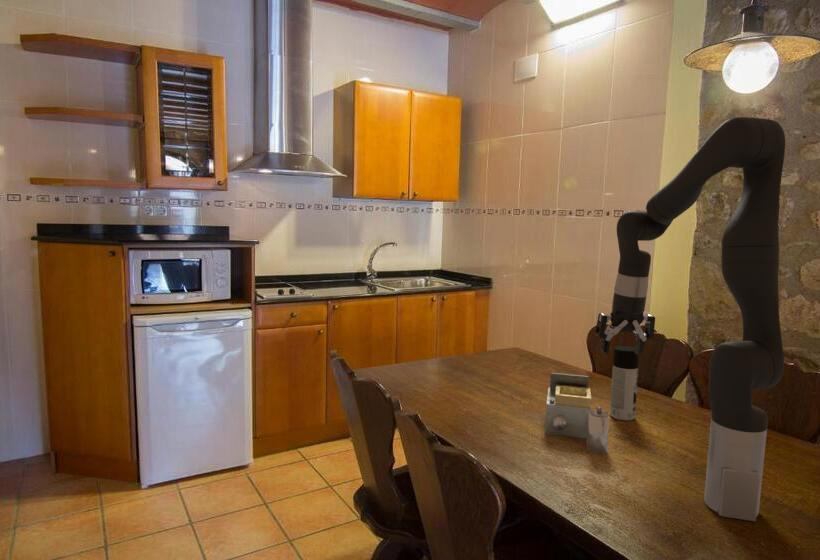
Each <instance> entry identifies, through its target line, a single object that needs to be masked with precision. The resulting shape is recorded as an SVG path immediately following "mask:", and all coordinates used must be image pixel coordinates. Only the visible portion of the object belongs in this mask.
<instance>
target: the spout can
mask: <svg viewBox="0 0 820 560" xmlns="http://www.w3.org/2000/svg"><path fill="white" fill-rule="evenodd" d="M610 416H611V415H610V413H608V412H607V411H604V410H603V407H601V406H597V407H596V409H591V411H590V412H589V415H588V432H587V439H586V451H588V452H589V453H592V454H596V455H606V454H607V453H608V446H609V431H610V418H611V417H610Z"/></svg>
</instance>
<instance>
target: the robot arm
mask: <svg viewBox="0 0 820 560" xmlns="http://www.w3.org/2000/svg"><path fill="white" fill-rule="evenodd" d="M785 152H786V135H785V131H784V128H783V127H782V126H781V124H780V123H779V122H778V121H776V120H773V119H768V118H759V117H758V118H757V117H748V116H736V117H735V116H734V117H731V118H729V119H727V120H725V121H723V122H722V123H721V124H720V125H719V126H718V127H717V128H716V129H715V130H714V131H713V132H712V133H711V134H710V135H709V137H707V139H706V140H705V141H704V142H703V144H702V145H701V146H700V148H699V149H698V150H697V151H696V152H695V153H694V155H693V156H692V157H691V158H689V161H687V163H686V164H685V165H684V166H683V168H682V169H681V170H680V171H679V172H678V173H677V174H676V175H675V177H673V178H672V179H671V180H670V181H669V182H668V183H666V184H665V185H664V186H662V188H661V189H660V190H658V191H657V192H656V193H654V194H653V195H652V196H651V197H650V198H649V199H648V201H647V203H646V207H645V211H641V210H638V211H637V210H632V211H631V210H629V211H626V212H623V214H621V215H620V217H619V218H618V220H617V224H616V237H617V244H618V251H619V261H618V262H619V263H618V268H617V269H618V270H617V275H616V278H615V284H614V288H613V298H612V305H611V312H610V314H604V313H603V312H599V313H598V314H597V315H598V316H597V320H596V321H597V322H596V325H595V327H596V328H595V332H594V334H595V336H597V337H598V338H599V339H601V345H600V350H601V352H602V353H603V354H604V355H609V353H610V349H611V339H612V338H613V337H614V336H616V335H617V334H618V333H619V332H620V333H625V332H627V333H634V334H635V336H636V338H635V343H634V353H635V354H637V355H639V356H640V355H642V353H643V352H644V349H645V348H644V347H645V342H646V341H647V340H649V339H650V340H653V338H654V334H655V325H656V317H655V316H654V315H652V314H650V313H647V314H645V315H644V312H645V309H646V303H647V302H646V301H647V296H648V289H649V277H650V276H649V275H650V274H649V273H650V268H651V263H652V262H651V261H652V255H651V254H650V253H649V251H646V250H641V249H640V246H639V241H642V242H643V241H645V242H647V241H649V242H650V241H654V240H657V239H658V238H660V237H661V236H663V235H664V234H665V233H666V231H667V230H668V228H670V225H672V223H673V221H674V220H676V218H679V216H681V215H682V214H684V213H685V212H686V211H687V210H689V209H690V208H691V207H692V206H693V205H694V204H695V203H696V202H697V201H698V199H699V197H700V195H701V193H702V191H703V188H704V186H705V184H706V183H707V182H708V181H709V180H710V179H712V177H714V176H716V175H717V174H719V173H721V172H722V171H724V170H727V169H728V168H736V169H742V176H743V177H742V192H741V197H740V200H739V203H738V205H737V207H736V209H735V211H734V213H733V215H731V218H730V220H729V222H728V223H727V226H726V227H725V229H724V232H723V235H722V238H721V259H720V260H721V264H720V265H721V273H722V276H723V280H724V281H725V284H726V285H727V288H728V289H729V291H730V292H731V294H732V296H733V298H734V300H735V302H736V304H737V306H738V308H739V311H740V314H741V318H742V340H741V341H727V342H722V343H720V344H718V345H717V346H716V347H715V348H714V349H713V351H712V353H711V356H710V359H709V369H708V370H709V371H708V403H709V407H710V410H711V417H710V418H711V419H710V429H709V439H708V450H707V451H708V452H707V463H706V471H705V472H706V473H705V485H704V498H703V501H704V504H705V505H706V506H707V507H708V508H709V509H711V510H712V511H713V512H715V513H717V514H718V516H720V517H724V518H730V519H731V518H732V519H737V520H743V521H750V522H757V517H759V515H760V514H759V511H760V502H761V493H762V483H763V474H764V472H763V470H764V463H765V453H766V452H765V451H766V443H767V442H766V441H767V434H768V425H769V416H768V413H767V412H766V411H765V410H763V409H761V408H760V407H757V406H755V405H752V390H753V391H754V390H764V389H770V388H773V387H775V386H777V385H778V384H779V383H780V381H781V379H782V377H783V374H784V368H785V357H784V348H783V340H782V330H781V323H780V322H781V321H780V304H779V303H780V302H779V299H780V298H779V297H780V295H779V293H780V292H779V270H780V269H779V267H780V239H779V235H780V234H779V233H780V232H779V228H780V227H779V222H780V195H781V185H782V177H783V169H784V161H785ZM609 321H610V324H609V325H608V324H607V323H609ZM642 323H644V330H643V329H642V327H641V324H642Z"/></svg>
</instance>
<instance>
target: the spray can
mask: <svg viewBox="0 0 820 560" xmlns="http://www.w3.org/2000/svg"><path fill="white" fill-rule="evenodd" d="M634 348H635V346H626V345H617V346H614V348H613V359H612V372H611V373H612V375H611V389H610V390H611V391H610V392H611V394H610V410H609V412H610V413H609V415H610V416H611V418H614V419H615V420H620V421H623V422H624V421H626V422H627V421H628V422H630V421H633V420H635V417H636V409H637V393H638V378H639V359H640V355H637V354H635V353H634Z"/></svg>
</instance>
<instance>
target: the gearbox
mask: <svg viewBox="0 0 820 560" xmlns="http://www.w3.org/2000/svg"><path fill="white" fill-rule="evenodd" d="M589 377H590V375H582V374H581V375H580V374H573V373H572V374H571V373H569V374H568V373H560V372H559V373H558V372H550V382H549V383H550V384H549V385H550V386H549V387H548V389H547V398H546V407H545V408H546V410H545V427H544V429H545V430H544V431H545V432H544V434H545V435H546V434H547V435H552V436H553V435H554V436H561V437H562V436H563V437H571V438H577V439H586V440H587V432H588V415H589V412H590V411H591V410H592V394H591V388H590V387H589V382H590V381H589V379H590V378H589Z"/></svg>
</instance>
